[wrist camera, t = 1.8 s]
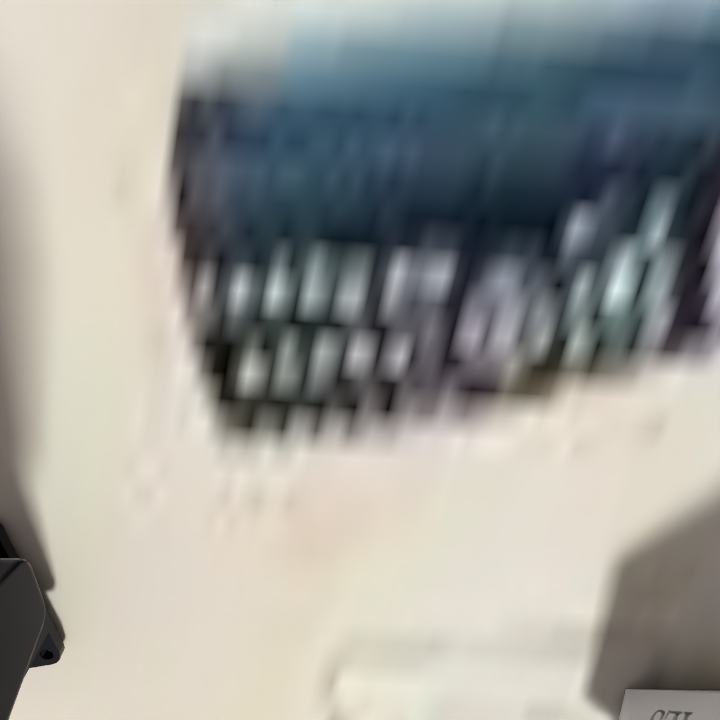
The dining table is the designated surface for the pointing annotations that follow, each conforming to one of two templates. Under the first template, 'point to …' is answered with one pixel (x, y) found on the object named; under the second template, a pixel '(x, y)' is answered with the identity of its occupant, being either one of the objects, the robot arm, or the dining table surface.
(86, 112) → the dining table surface
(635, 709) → the die
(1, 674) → the robot arm
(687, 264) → the dining table surface
